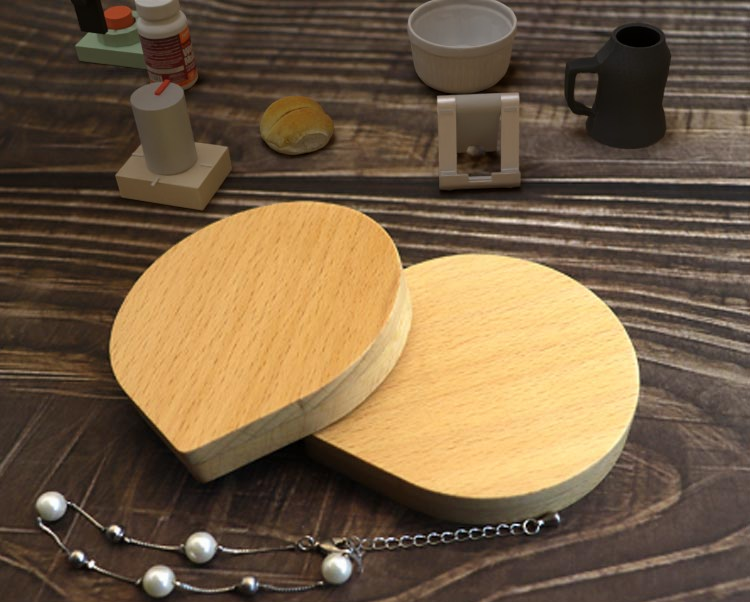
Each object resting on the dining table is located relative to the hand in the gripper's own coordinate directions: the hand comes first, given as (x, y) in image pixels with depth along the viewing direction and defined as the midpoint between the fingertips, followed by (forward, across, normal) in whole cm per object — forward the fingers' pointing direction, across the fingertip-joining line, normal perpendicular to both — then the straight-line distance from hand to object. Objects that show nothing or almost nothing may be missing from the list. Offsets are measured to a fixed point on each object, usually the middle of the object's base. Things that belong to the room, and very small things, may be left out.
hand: (128, 0), depth 105 cm
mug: (+18, -18, +49) cm, 55 cm away
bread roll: (+19, -7, +14) cm, 24 cm away
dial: (+15, +5, +4) cm, 17 cm away
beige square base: (+18, +5, +4) cm, 20 cm away
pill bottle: (+19, -15, -6) cm, 25 cm away
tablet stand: (+19, -6, +36) cm, 41 cm away
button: (+15, -20, -16) cm, 30 cm away
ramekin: (+19, -26, +28) cm, 43 cm away
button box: (+19, -20, -16) cm, 32 cm away
